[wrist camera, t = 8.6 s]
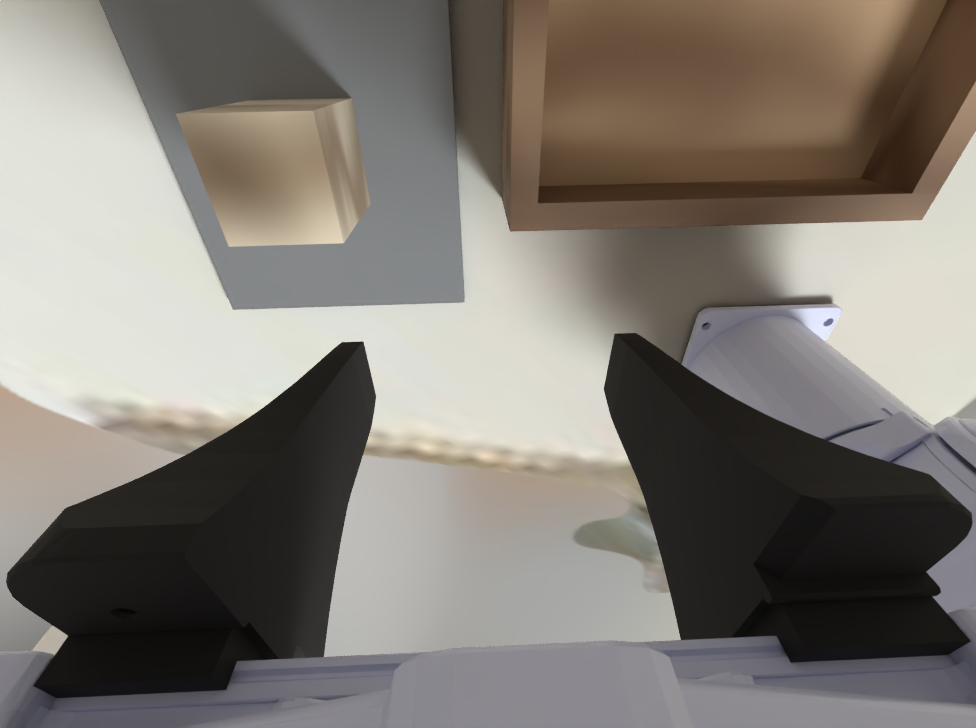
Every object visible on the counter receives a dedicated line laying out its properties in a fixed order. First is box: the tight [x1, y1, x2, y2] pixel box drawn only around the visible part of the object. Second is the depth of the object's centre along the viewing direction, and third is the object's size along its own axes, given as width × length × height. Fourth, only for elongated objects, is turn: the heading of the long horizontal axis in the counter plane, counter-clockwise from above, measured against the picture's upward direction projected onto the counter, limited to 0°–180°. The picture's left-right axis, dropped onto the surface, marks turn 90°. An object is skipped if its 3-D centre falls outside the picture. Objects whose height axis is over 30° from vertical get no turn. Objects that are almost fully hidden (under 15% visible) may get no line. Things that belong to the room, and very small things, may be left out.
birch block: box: [176, 98, 371, 247], centre depth 15 cm, size 4×4×5 cm
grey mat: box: [100, 0, 464, 310], centre depth 18 cm, size 14×12×1 cm
